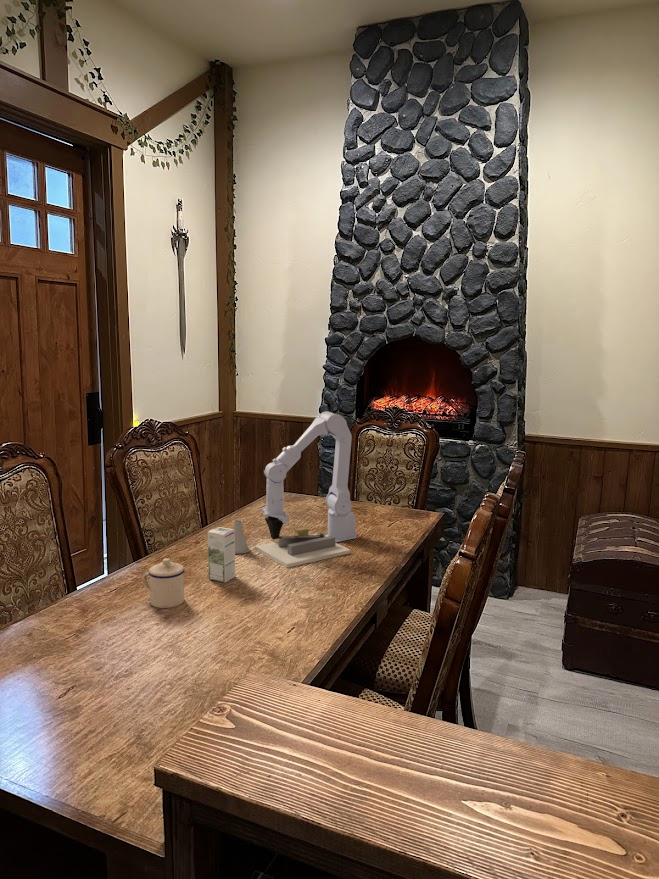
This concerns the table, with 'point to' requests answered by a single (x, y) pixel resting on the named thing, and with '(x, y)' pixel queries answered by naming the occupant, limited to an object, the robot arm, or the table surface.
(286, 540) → the block
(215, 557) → the syrup box
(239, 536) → the flask
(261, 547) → the hearth board
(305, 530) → the block
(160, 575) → the teacup with lid
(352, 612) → the table surface
